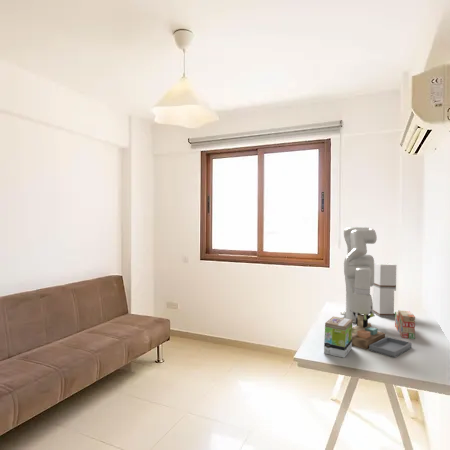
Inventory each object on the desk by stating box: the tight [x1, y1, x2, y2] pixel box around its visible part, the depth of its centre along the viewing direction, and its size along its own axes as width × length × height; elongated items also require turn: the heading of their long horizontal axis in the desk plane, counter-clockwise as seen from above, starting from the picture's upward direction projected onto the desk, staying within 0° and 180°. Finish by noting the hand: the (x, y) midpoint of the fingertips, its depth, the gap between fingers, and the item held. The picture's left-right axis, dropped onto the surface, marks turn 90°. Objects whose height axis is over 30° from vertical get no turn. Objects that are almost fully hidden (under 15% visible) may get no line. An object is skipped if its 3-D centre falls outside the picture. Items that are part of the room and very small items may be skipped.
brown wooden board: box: [352, 325, 386, 350], centre depth 177 cm, size 16×20×4 cm
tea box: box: [323, 316, 353, 359], centre depth 162 cm, size 15×10×15 cm
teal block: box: [365, 326, 378, 335], centre depth 177 cm, size 4×4×2 cm
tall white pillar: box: [372, 262, 397, 318], centre depth 230 cm, size 11×11×35 cm
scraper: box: [352, 314, 372, 334], centre depth 177 cm, size 3×16×8 cm, turn 130°
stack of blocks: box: [394, 309, 416, 340], centre depth 192 cm, size 21×6×12 cm, turn 163°
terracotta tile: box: [357, 330, 370, 338], centre depth 172 cm, size 4×4×2 cm
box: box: [368, 336, 413, 359], centre depth 166 cm, size 12×20×2 cm, turn 131°
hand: (361, 326), depth 177 cm, fingers closed on scraper, 2 cm apart
